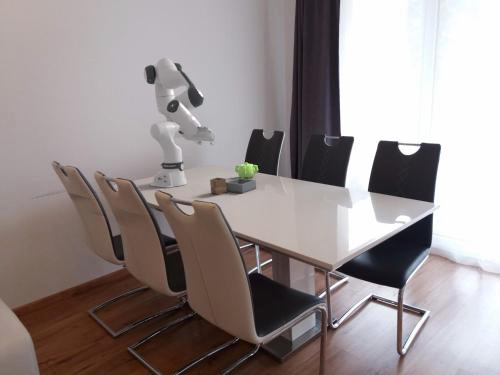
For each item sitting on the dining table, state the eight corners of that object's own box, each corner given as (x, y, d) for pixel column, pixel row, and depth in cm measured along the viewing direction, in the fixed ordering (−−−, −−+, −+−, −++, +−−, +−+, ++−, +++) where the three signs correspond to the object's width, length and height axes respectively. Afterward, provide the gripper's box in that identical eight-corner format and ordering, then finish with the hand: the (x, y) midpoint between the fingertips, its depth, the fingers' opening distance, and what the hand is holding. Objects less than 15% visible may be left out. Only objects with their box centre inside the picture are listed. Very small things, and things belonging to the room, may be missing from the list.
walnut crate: (211, 193, 226) (210, 179, 224) (218, 191, 230) (217, 177, 228) (219, 195, 222) (218, 180, 220) (226, 192, 226) (225, 178, 224)
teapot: (259, 177, 260) (258, 162, 257) (244, 180, 254) (243, 165, 252) (249, 175, 269) (248, 160, 267) (234, 177, 264) (233, 162, 261)
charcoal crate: (226, 190, 230) (225, 182, 229) (239, 186, 239) (239, 178, 238) (242, 193, 223) (242, 184, 222) (256, 188, 232) (255, 180, 231)
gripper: (209, 122, 199) (224, 139, 208) (180, 122, 211) (195, 138, 221) (203, 132, 196) (219, 149, 206) (175, 131, 209) (190, 148, 219)
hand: (206, 143), depth 214 cm, fingers open, 8 cm apart
